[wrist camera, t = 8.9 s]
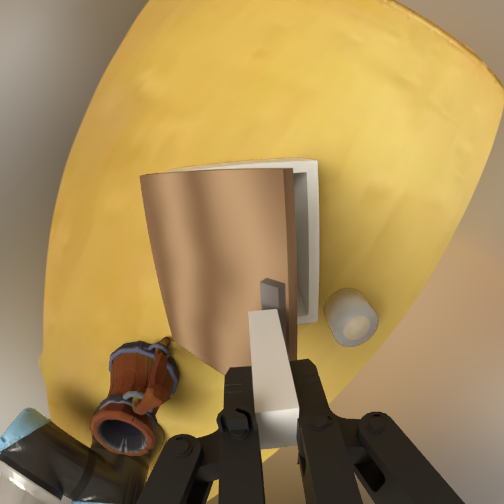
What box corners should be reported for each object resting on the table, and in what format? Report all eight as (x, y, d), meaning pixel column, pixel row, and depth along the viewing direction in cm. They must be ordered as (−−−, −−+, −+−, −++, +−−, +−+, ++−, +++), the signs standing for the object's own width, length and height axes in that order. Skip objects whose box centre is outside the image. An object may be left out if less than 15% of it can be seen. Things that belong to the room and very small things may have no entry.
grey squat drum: (322, 328, 38) (332, 350, 34) (324, 291, 36) (336, 311, 32) (361, 322, 39) (374, 342, 34) (366, 285, 36) (381, 304, 32)
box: (192, 296, 36) (182, 333, 28) (173, 168, 30) (152, 175, 23) (302, 286, 36) (317, 322, 28) (298, 157, 30) (317, 160, 23)
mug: (146, 295, 36) (105, 373, 21) (217, 339, 38) (210, 426, 24) (103, 367, 40) (71, 434, 26) (161, 400, 43) (145, 471, 29)
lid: (179, 337, 28) (168, 343, 27) (147, 174, 22) (133, 177, 21) (295, 406, 19) (283, 418, 18) (292, 167, 13) (274, 170, 12)
